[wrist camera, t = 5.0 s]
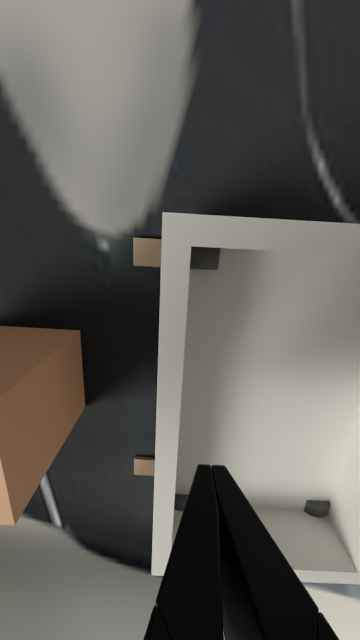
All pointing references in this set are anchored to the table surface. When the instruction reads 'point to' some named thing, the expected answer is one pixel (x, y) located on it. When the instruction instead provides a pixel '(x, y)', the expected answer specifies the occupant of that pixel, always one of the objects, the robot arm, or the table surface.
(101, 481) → the table surface
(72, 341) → the part block
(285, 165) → the table surface
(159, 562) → the white open storage bin
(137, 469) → the track
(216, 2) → the table surface
